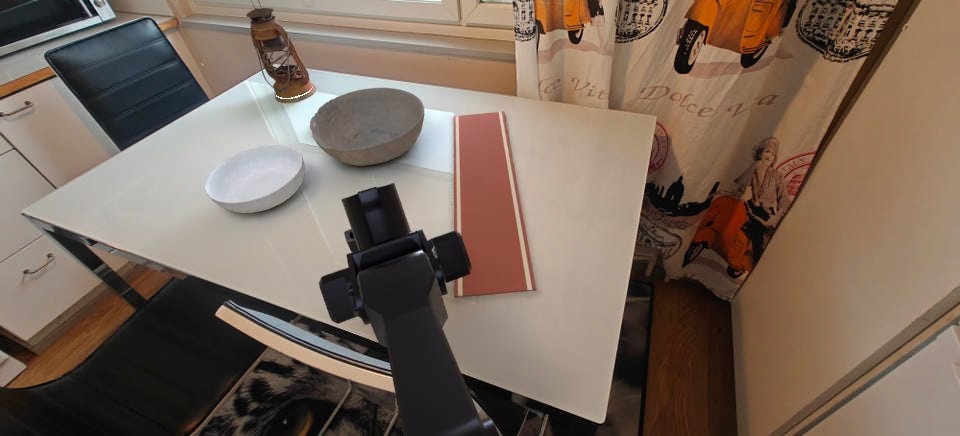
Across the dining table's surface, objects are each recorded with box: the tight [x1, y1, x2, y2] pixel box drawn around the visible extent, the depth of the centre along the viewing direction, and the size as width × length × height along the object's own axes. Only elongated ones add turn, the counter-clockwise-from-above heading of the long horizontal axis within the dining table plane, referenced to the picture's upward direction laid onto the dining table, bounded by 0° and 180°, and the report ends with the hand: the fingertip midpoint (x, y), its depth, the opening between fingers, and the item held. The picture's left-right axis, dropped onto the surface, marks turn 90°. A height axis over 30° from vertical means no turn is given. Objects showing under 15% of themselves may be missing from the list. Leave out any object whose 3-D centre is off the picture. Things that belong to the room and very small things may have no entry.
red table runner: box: [453, 111, 537, 298], centre depth 91 cm, size 60×14×1 cm, turn 3°
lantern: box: [245, 0, 317, 104], centre depth 121 cm, size 17×13×30 cm
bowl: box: [309, 87, 425, 167], centre depth 102 cm, size 28×28×10 cm
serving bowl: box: [204, 143, 306, 214], centre depth 92 cm, size 21×21×7 cm
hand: (397, 270), depth 61 cm, fingers open, 9 cm apart
